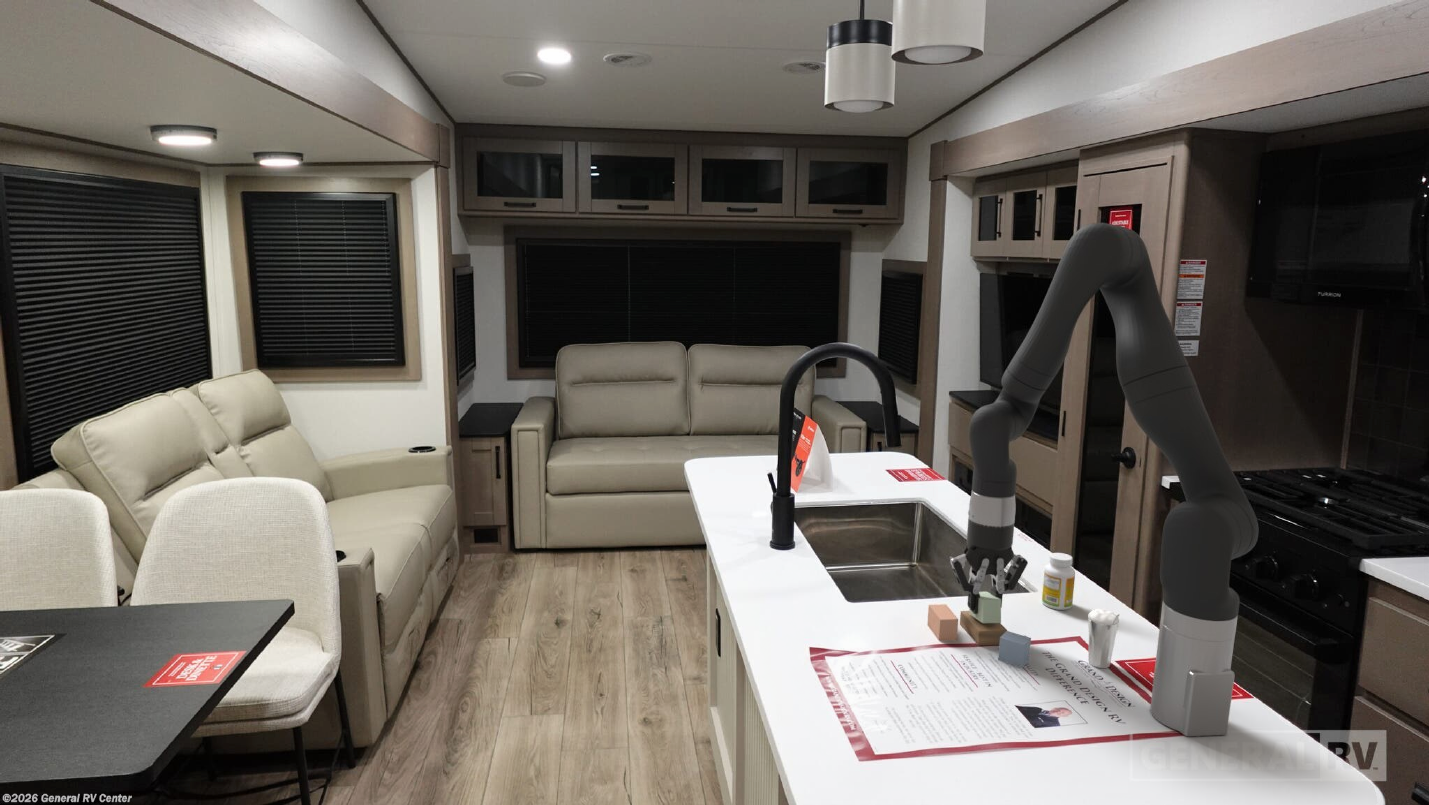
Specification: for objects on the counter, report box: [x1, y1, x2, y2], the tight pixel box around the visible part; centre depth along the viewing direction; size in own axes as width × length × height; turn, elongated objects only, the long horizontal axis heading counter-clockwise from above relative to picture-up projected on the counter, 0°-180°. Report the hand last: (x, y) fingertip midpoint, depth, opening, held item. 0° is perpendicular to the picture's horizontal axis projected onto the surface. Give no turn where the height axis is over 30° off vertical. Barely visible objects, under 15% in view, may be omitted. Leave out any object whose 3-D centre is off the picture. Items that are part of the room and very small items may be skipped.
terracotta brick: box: [926, 603, 959, 642], centre depth 148 cm, size 6×3×4 cm, turn 5°
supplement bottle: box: [1041, 552, 1076, 611], centre depth 159 cm, size 5×5×10 cm
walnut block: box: [959, 610, 1008, 646], centre depth 148 cm, size 8×5×3 cm, turn 6°
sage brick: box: [968, 591, 1002, 624], centre depth 147 cm, size 6×3×4 cm, turn 5°
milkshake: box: [1087, 608, 1120, 669], centre depth 136 cm, size 4×5×10 cm
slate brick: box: [997, 630, 1032, 668], centre depth 138 cm, size 4×3×4 cm
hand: (984, 611), depth 147 cm, fingers closed on sage brick, 3 cm apart
